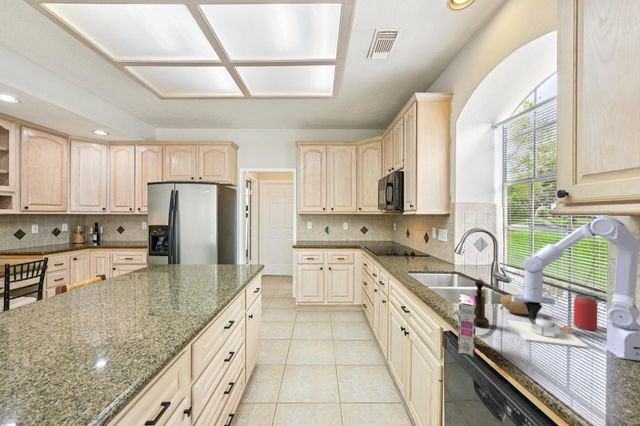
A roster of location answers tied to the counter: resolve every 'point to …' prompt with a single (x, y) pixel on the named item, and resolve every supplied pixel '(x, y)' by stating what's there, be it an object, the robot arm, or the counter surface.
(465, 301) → the candy bar box
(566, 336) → the base
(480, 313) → the pepper mill
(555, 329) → the elbow collar
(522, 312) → the potato
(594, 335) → the counter surface
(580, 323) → the beer can
